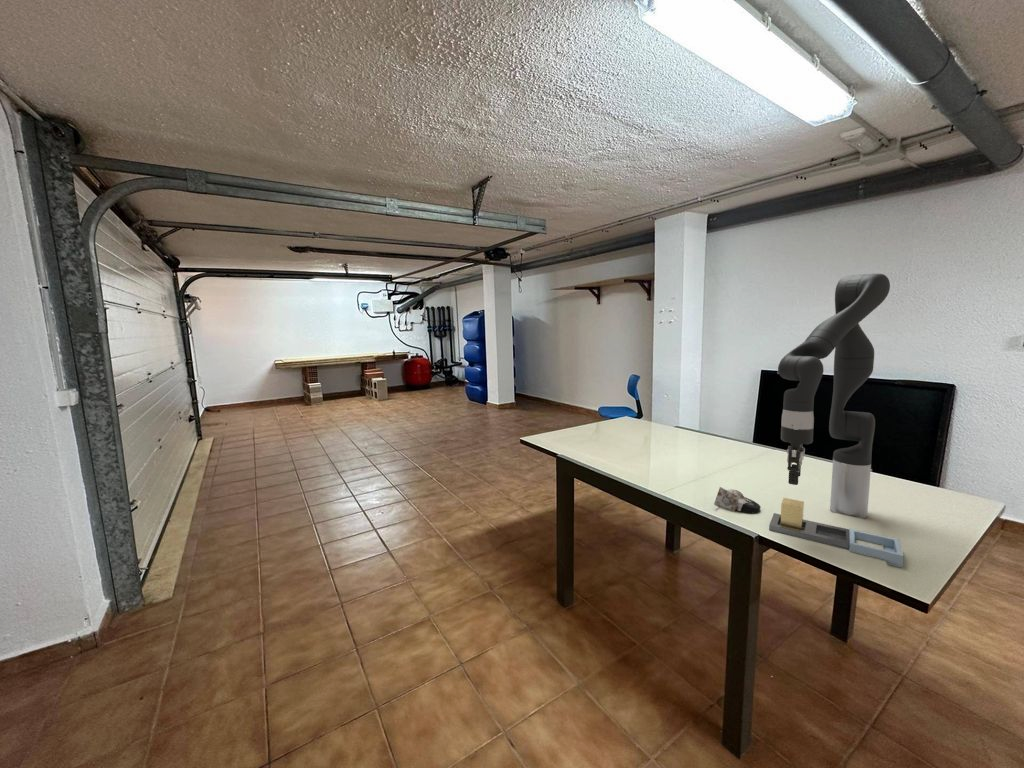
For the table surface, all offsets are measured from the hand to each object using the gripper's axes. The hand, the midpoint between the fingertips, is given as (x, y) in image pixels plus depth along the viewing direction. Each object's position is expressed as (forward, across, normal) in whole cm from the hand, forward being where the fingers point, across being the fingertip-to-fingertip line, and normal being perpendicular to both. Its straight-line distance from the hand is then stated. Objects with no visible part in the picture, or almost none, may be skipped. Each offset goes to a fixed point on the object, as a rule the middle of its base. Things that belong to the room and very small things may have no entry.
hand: (794, 479), depth 114 cm
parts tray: (+16, +1, +18) cm, 24 cm away
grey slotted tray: (+16, 0, +4) cm, 16 cm away
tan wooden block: (+15, 0, 0) cm, 15 cm away
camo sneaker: (+16, -8, -15) cm, 23 cm away
